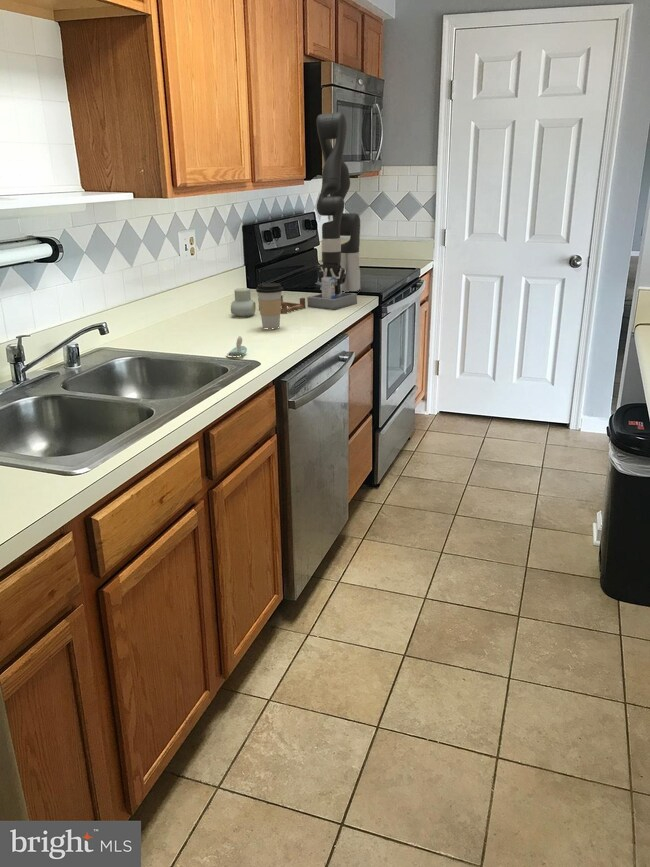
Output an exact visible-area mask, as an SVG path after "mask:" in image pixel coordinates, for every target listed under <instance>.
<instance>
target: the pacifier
mask: <svg viewBox="0 0 650 867" xmlns="http://www.w3.org/2000/svg"><path fill="white" fill-rule="evenodd" d="M235 344H236V346H234V347H233V348H232V349H231V350H230V351H229V352H227V353H226V354H227V356H240V355H245V354H246V353H247V351H248V348H247V347H246V346H244V345H242V344H243V337H242V336H241V335H238V336H237V338H236V343H235ZM229 354H230V355H229Z"/></svg>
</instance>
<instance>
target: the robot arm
mask: <svg viewBox="0 0 650 867" xmlns="http://www.w3.org/2000/svg"><path fill="white" fill-rule="evenodd" d="M316 130H317V136H318V139H319V144H320V148H321V152H322V156H323V161H324V163H323V164H324V165H323V169H322V175H321V176H322V178H321V180H322V182H321V189H320V192H319V197H318V199H317V203H316V211H317V213H318V215H320V216H322V217H326V216H327V217H328V216H330V217H331V216H332V220H331V221H326V222H323V223H322V224H321V235H322V236H321V263H322V265H321V266H318V267H316V269H315V270H316V274H317V278H318V281H319V283H322V278H324V277H329V276H331V277H333V278H334V280H335V295H338V294H340V285H341V284H342V291H344V292H349V291H357V290H359V289H360V290H361V269H360V241H361V240H360V238H361V234H360V233H361V218H360V216H359V214H358V213H356V212H354V213H351V212H350V213H347V212H346V213H344V210H345V198H346V196H347V194H348V192H349V190H350V187H351V179H350V171H349V168H348V167H349V166H347V164H346V162H345V161H344V159H343V155H344V150H345V143H346V136H347V118H346V116H345V114H344V113H343V112H330V113H321V114H318V115H317V117H316ZM330 140H335V144H334V147H333V145H332V143H331V141H330ZM342 236H344V237H345V236H346V237H349V240H347V241H346V242H344V243H342V242H341V237H342ZM336 276H337V277H336ZM337 280H338V281H337Z"/></svg>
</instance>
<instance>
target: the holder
mask: <svg viewBox="0 0 650 867" xmlns="http://www.w3.org/2000/svg"><path fill="white" fill-rule="evenodd" d="M283 298H284V296H283V295H282V294H281V314H283V313H286V314H288V313H287V312H289V313H292V312H291V311H293V312H295V311H294V310H297V311H299V310H298V309H300V310H304V309H306V297H300V298H299V303H298V302H289V301H284V299H283ZM287 306H288V307H287ZM303 308H304V309H303ZM258 310H259V311H260V308H259V307H258Z"/></svg>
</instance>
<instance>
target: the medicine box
mask: <svg viewBox="0 0 650 867" xmlns="http://www.w3.org/2000/svg"><path fill="white" fill-rule="evenodd" d="M336 277H337V276H336ZM337 281H338V280H337ZM321 293H322V298H325V299H337V298H340V297H342V284H341V285H340V294H338V295H335V280H334V278H333V277H331V276H329V277H324V278H322V282H321Z"/></svg>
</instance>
